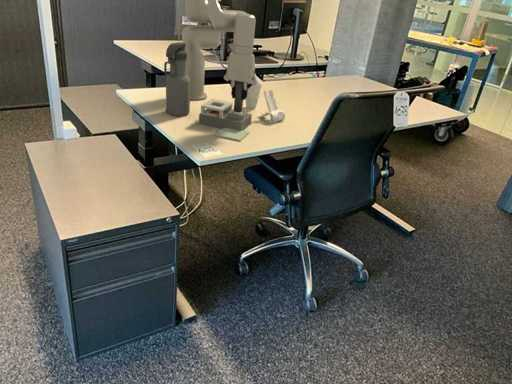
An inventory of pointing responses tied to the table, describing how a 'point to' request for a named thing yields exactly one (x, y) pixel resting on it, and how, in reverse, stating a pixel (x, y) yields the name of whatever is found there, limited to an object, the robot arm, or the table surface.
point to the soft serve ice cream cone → (253, 94)
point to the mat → (232, 134)
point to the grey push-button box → (223, 116)
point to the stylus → (238, 97)
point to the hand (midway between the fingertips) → (239, 98)
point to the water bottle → (177, 81)
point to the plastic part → (273, 108)
